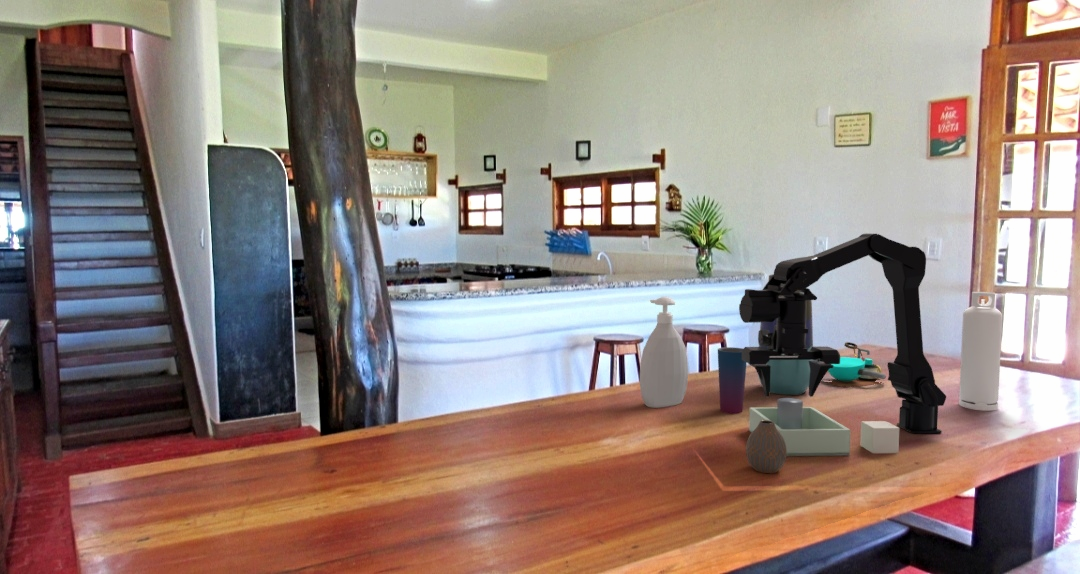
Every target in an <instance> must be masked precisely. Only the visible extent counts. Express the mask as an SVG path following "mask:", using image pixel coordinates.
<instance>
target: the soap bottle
mask: <svg viewBox="0 0 1080 574" xmlns="http://www.w3.org/2000/svg"><path fill="white" fill-rule="evenodd" d="M649 301H650V304H654V305H657V306H662V311H661V312H658V314H657V315H656V316H657V317H656V321H657V323H656V325H655V327H654V328H653V331H652V332H651V333H650V335H649V336H648V338H647V341H646V343H645V346H644V347H643V350H642V355H641V360H640V369H639V387H640V395H641V398H642V401H643V403H644V404H645V405H646V406H647V407H648V408H651V409H652V408H653V409H654V408H655V409H656V408H657V409H658V408H659V409H660V408H667V407H673V406H676V405H680V404H681V403H682V402H683V400H684V398H685V395H686V393H687V389H688V387H687V386H688V382H689V381H688V379H689V365H688V364H689V363H688V354H687V348H686V345H685V343H684V341H683V339H682V337H681V334H680V333H679V332H678V331H677V330H676V328H675V327H674V322H673V321H674V319H673V317H674V316H673V314H672V313H671V312H668V306H675V305H676V302H675V300H674V299H672V297H669V296H661V297H659V298H656V299H650V300H649Z"/></svg>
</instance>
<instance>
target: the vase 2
mask: <svg viewBox="0 0 1080 574" xmlns="http://www.w3.org/2000/svg"><path fill="white" fill-rule="evenodd" d="M772 276H773V274H770V275H768V281H769V280H770V278H771V277H772ZM799 291H801V290H797V291H795V292H799ZM781 296H784V295H779V297H781ZM812 301H813V300H807V307H806V328H808V333H806V339H805V348H807V349H808V351H810V349H811V348H812V347H814V337H813V336H814V333H813V332H814V329H813V303H812ZM775 325H777V318H776V319H775V320H774V321H773V322H760V325H759V331H760V330H769V332H770V333H773V332H774V327H775ZM758 347H762V348H764V349H766V350H767V346H760V345H759V344H758ZM773 351H776V350H773ZM781 355H783V354H781ZM797 356H799V355H797ZM809 361H812V360H770V361H769V362H768V363H767V365H769V366H771V372H770V393H771V394H776V395H787V396H796V395H802V393H803V394H804V393H805V392H806V391H807V390H809V379H810V366H809ZM757 376H758V380H759V383H760V384H761V381H760V378H759V375H758V374H757ZM761 386H762V384H761Z"/></svg>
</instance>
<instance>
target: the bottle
mask: <svg viewBox="0 0 1080 574" xmlns="http://www.w3.org/2000/svg"><path fill="white" fill-rule="evenodd" d="M981 296H982V297H987V298H988V300H987V302H986V303H985V301H986V299H983V298H982V299H980V301H981V302H980V303H979V298H980V297H981ZM995 303H996V293H995V292H990V291H972V292H971V306H970V307H968V308H966V309H965V310H964V311H963V312H962V327H961V328H962V331H961V352H960V369H959V370H960V372H959V373H960V374H959V391H958V392H959V395H958V396H959V399H958V405H959V406H960V407H963V408H966V409H969V410H976V411H983V412H988V411H990V412H991V411H996V410H998V408H999V403H998V401H999V390H1000V388H999V387H1000V372H1001V354H1002V353H1001V352H1002V350H1001V349H1002V333H1003V332H1002V331H1003V314H1002V312H1001V311H1000V310H999V309H998V308H997V307H996V304H995Z"/></svg>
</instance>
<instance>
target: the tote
mask: <svg viewBox="0 0 1080 574" xmlns="http://www.w3.org/2000/svg"><path fill="white" fill-rule="evenodd" d="M748 414H749V418H748V431H749V432H751V433H752V432H753V431H754V430H755V429H756V427H757V426H758V425H759V422H760V421H762V420H768V421H772V422H774V424H775V427H776V428H777V430H778V431H779V432H780V434H781V435H782V437H783V438H784V441H785V444H786V451H787V452H786V457H828V456H829V457H830V456H831V457H832V456H833V457H834V456H835V457H840V456H841V457H842V456H843V457H845V456H847V457H848V456H849V457H850V455H851V429H850V428H848V427H846V426H845V425H843V424H841V423H839V422H838V421H836V420H835V419H833V418H831V417H829V416H828V415H826V414H824V413H823V412H821V411H819V410H818V409H816V408H815V407H813V406H803V417H802V429H781V428H780V427H779V426H777V406H775V407H749V412H748ZM751 433H750V434H751Z"/></svg>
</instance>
